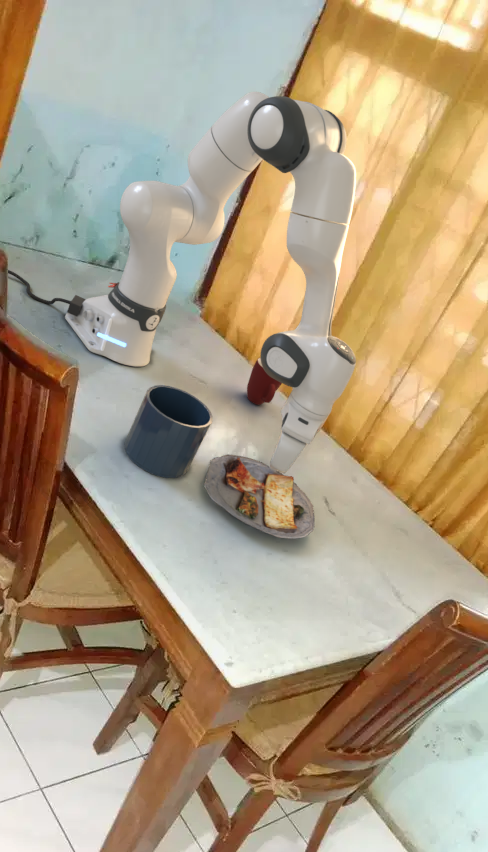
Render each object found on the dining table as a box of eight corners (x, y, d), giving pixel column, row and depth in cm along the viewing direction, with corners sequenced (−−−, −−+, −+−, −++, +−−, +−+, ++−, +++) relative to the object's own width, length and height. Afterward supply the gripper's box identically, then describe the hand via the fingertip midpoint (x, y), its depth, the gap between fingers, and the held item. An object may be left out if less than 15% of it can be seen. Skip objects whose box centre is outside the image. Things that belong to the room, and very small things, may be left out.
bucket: (110, 438, 137) (132, 387, 131) (159, 431, 148) (182, 383, 141) (152, 482, 132) (177, 431, 126) (200, 472, 142) (225, 424, 136)
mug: (277, 418, 178) (296, 384, 173) (251, 413, 173) (269, 378, 168) (261, 393, 185) (278, 360, 180) (235, 388, 180) (252, 354, 175)
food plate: (211, 448, 152) (217, 434, 150) (309, 492, 156) (316, 480, 154) (194, 513, 131) (202, 498, 129) (308, 562, 135) (317, 549, 133)
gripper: (296, 388, 153) (267, 439, 160) (283, 427, 136) (251, 482, 143) (322, 402, 154) (292, 452, 161) (312, 442, 136) (279, 497, 143)
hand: (273, 467), depth 152 cm, fingers closed
